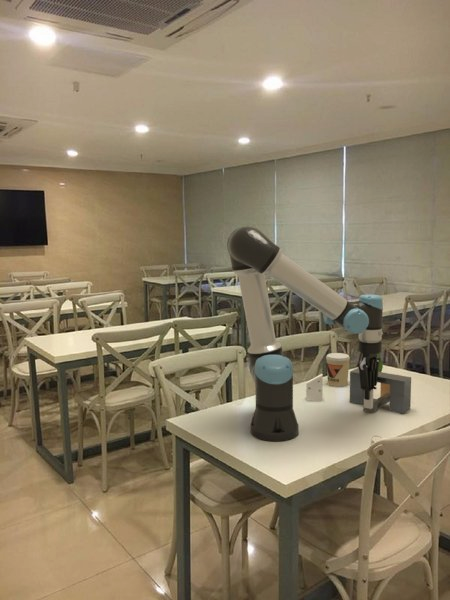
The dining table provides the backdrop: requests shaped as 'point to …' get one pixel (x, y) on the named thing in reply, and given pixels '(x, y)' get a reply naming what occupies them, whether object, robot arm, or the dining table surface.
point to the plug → (382, 400)
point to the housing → (398, 390)
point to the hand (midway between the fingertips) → (368, 407)
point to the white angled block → (314, 389)
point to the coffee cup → (337, 369)
